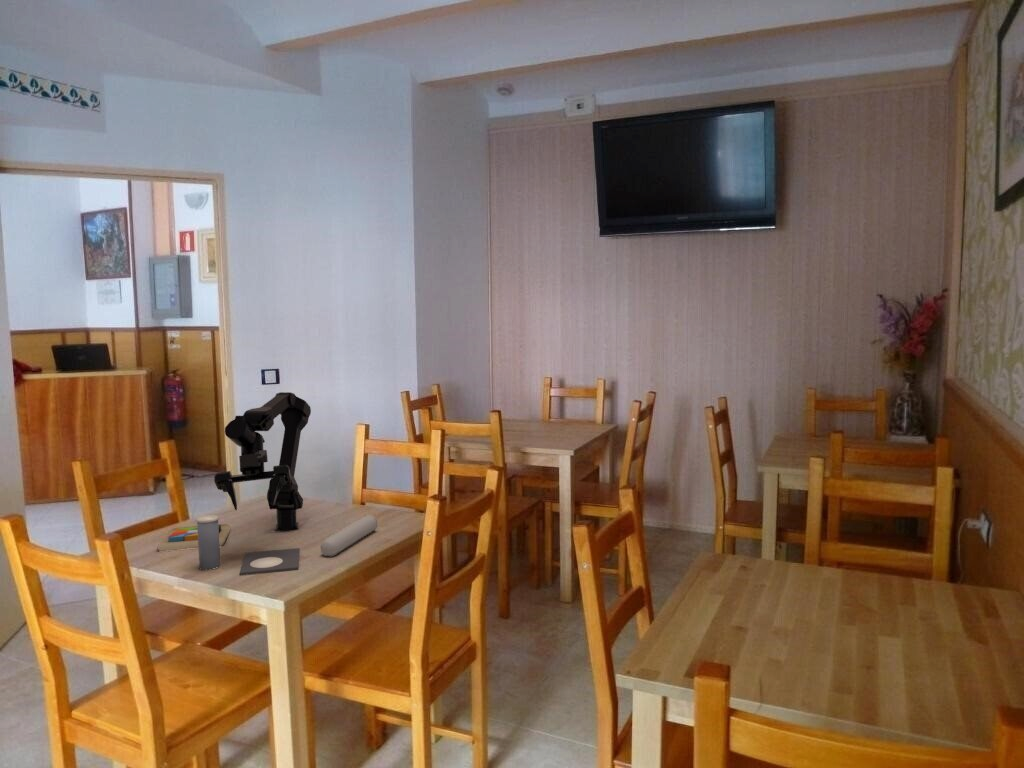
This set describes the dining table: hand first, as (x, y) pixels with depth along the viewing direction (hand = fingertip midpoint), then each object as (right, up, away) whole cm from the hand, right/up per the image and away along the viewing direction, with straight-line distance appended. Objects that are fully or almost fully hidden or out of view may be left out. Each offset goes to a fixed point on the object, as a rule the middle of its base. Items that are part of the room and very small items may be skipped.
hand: (254, 507), depth 194 cm
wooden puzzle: (-24, -13, +21) cm, 34 cm away
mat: (+4, -14, 0) cm, 15 cm away
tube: (+22, -13, +15) cm, 29 cm away
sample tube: (-10, -15, -3) cm, 18 cm away
